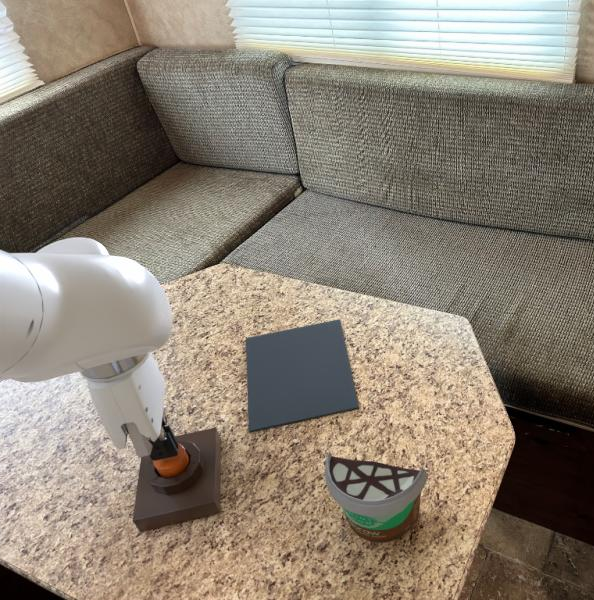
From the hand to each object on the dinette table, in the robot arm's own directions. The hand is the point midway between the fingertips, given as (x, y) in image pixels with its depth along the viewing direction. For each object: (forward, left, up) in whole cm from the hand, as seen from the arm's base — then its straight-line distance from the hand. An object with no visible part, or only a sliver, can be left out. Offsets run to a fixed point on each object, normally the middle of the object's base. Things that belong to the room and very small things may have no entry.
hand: (166, 453), depth 76 cm
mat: (+16, -17, -7) cm, 25 cm away
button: (0, 0, -3) cm, 3 cm away
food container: (-13, -24, -7) cm, 28 cm away
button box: (0, 0, -7) cm, 7 cm away
